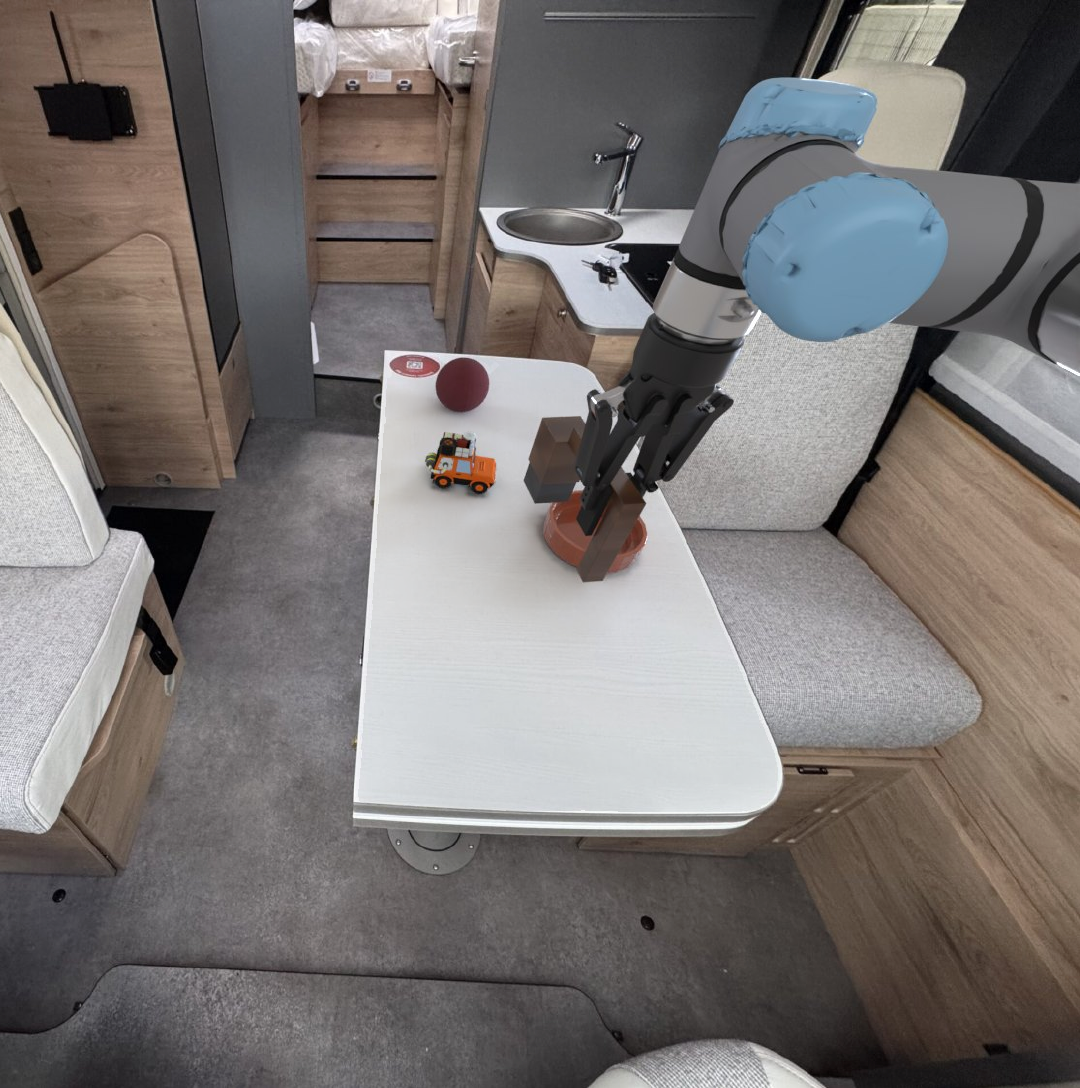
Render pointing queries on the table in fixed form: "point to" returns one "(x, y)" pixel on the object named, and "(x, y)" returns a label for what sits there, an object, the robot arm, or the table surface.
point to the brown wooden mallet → (557, 479)
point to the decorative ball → (462, 384)
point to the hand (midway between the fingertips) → (597, 525)
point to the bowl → (573, 542)
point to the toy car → (461, 463)
